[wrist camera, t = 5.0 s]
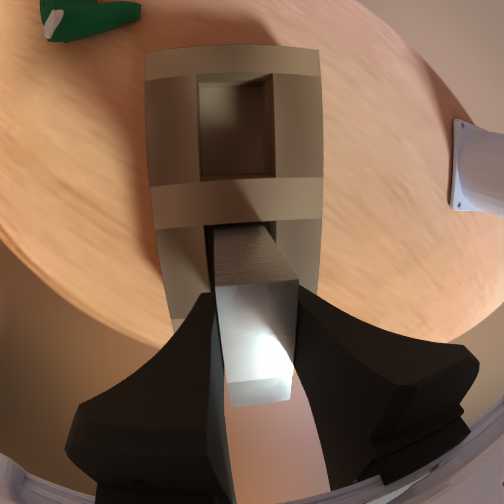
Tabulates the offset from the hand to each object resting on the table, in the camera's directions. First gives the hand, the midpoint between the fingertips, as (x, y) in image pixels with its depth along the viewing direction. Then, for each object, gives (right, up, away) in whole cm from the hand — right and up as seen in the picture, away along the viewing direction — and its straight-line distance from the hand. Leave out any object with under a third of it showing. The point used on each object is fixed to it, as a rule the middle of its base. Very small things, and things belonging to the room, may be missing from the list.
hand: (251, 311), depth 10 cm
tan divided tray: (-1, +6, +6) cm, 8 cm away
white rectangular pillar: (-1, +2, +5) cm, 5 cm away
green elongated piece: (-11, +20, -1) cm, 23 cm away
